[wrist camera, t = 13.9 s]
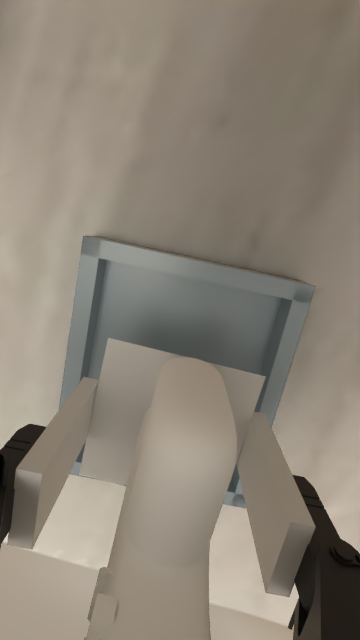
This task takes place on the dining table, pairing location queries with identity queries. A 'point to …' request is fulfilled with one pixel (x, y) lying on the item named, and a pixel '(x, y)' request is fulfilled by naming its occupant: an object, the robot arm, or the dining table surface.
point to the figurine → (163, 485)
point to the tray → (184, 318)
